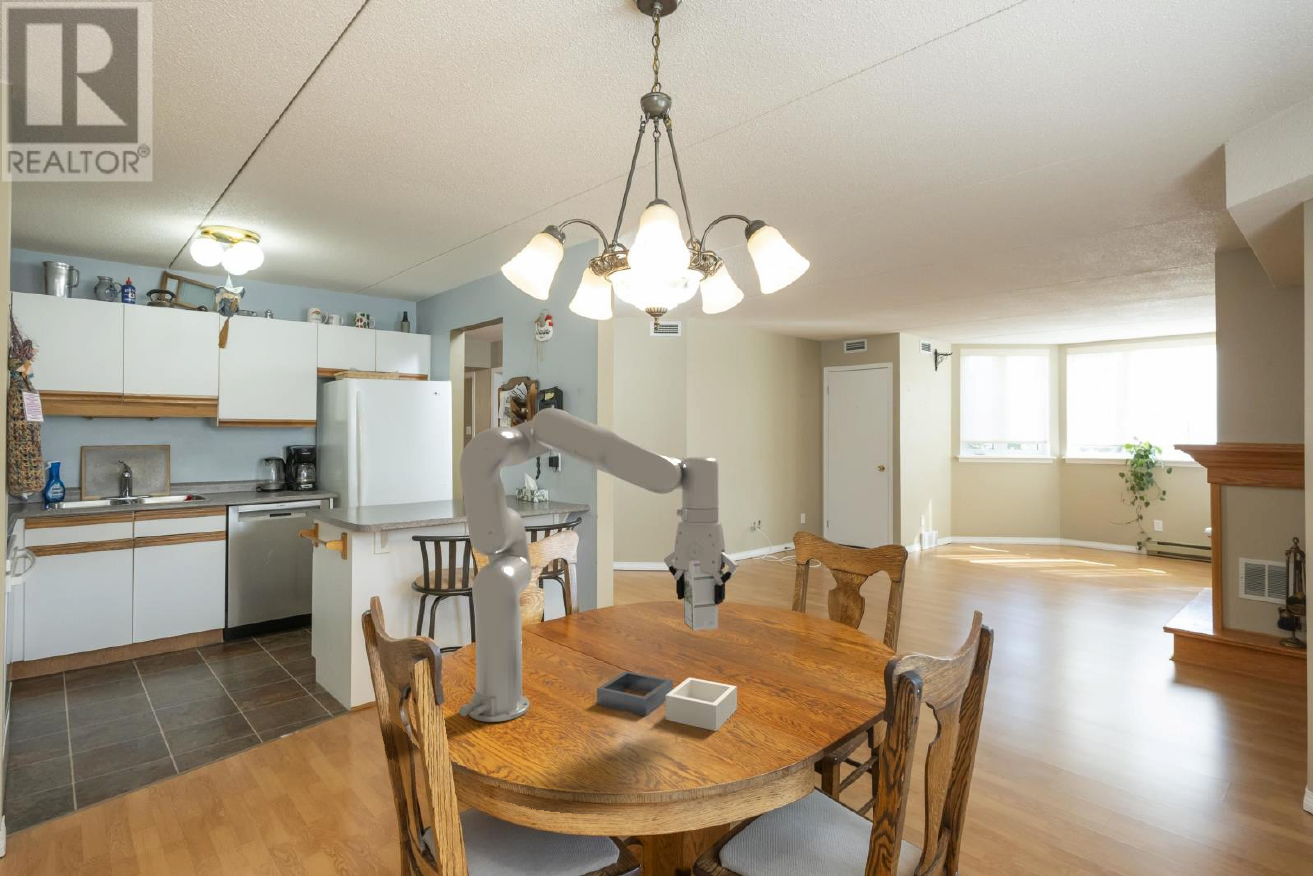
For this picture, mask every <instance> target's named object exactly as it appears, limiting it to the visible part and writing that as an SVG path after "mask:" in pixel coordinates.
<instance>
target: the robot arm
mask: <svg viewBox="0 0 1313 876" xmlns="http://www.w3.org/2000/svg"><path fill="white" fill-rule="evenodd" d="M468 441H469V442H467V444H466V445H465V446H464V448H463V451H462V454H461V455H460V459H459V477H460V482H461V483H460V484H461V489H462V495H463V500H464V501H463V502H464V510H465V516H466V524H467V529H468V536H469V541H470V544H471V546H472V548H473V549H474V550H475V551H476V552H477V553H479V555H483V556H487V559H488V563H487V564H485V565H484V566H483V567H482V568H480V569H479V571H478V572H477V574H476V575H475V577H474V579H473V582H472V588H471V589H472V590H471V591H472V592H471V593H472V602H473V608H474V609H473V610H474V616H475V692H474V693H472V699H471V700H470V701H469V703H466V704H464V705H462V706H460V707H459V709H458V710H459V714H460V716H461V717H465V716H467V715H469V716H470V717H471V719H473V720H476V721H479V722H487V723H498V722H505V721H510V720H514V719H516V718H518V717H521V716H523V715H525V714H526V713H527V712H528V711H529V709H530V700H529V699H528V698H527V697H526V696H525V695H524V694H523V634H522V633H523V632H522V630H523V628H522V626H523V625H522V624H523V623H522V611H521V606H520V595H522V593H524V592H525V591H526V589H527V588H528V587H529V585H530V584H531V580H532V577H533V571H532V563H531V561H532V560H531V555H530V550H529V544H528V543H529V542H528V537H527V532H526V528H525V523H524V521H523V519H522V517H521V515H520V514H519V512H517V511H516V510H514V509H513V508H511V507H508V505H507V504H508V503H507V500H506V492H505V487H504V484H503V481H502V478H501V469H502V468H504V467H512V466H518V465H520V464H523V463H526V462H528V461H531V460H533V459H536V458H540V457H541V456H545V455H546V454H549V453H552V452H555V453H558V454H560V455H564V456H565V457H568V458H571V459H574V460H576V461H579V462H580V463H583V464H585V465H587V466H590V467H592V468H594V469H597V470H598V471H601V472H603V473H606V474H609V475H611V476H612V477H613V476H614V477H615V478H617V479H620V480H622V481H625V482H627V483H629V484H632V485H634V486H637V487H638V488H641V489H644V490H646V491H649V492H651V493H655V494H657V495H658V494H659V495H666V494H669V493H672V492H673V491H675V490H681V492H682V496H681V497H682V499H681V501H682V506H681V509H677V510H676V515H677V516H678V517H681V520H682V521H679V522H678V524H677V529H676V533H675V534H676V535H675V542H674V550H673V552H671V553H670V554H669V555H667V556H666V557H664V559H663V562H664V563H665V565H666V567H667V568H668V571H669V573H671V575H672V576H673V579H674V580H675V581H676V584H675V585H676V587H675V588H676V590H675V592H676V595H677V599H678V600H681V601H682V600H684V571H689V561H690V560H699V562H700V572H702V573H709V574H712V575H713V576H714V578H715V580H716V582H717V584H716V585H715V586H714V603H715V604H717V605H720V604H722V603H723V602H724V600H726V599H725V598H726V583H727V582H728V581H729V580H730V579H731V578H732V577H733V576H734V574H735V572H737V570H738V569H739V567H740V566H739V564H738V563H737V562H736V561H735V560H733V558H731V557H730V556H729V555H728V554H726V546H725V545H726V544H725V536H724V529H723V526H722V523H721V522H719V462H718V460H717V459H716V458H714V457H709V456H707V457H706V456H693V457H692V456H690V457H686V458H685V457H677V456H676V457H675V456H669V455H661V454H659V453H657V452H654V451H651V450H649V449H646V448H643V447H641V446H639V445H637V444H634V443H633V442H630V441H627V439H626V440H625V439H624V438H623V437H621V436H619V435H618V434H617V433H615V431H612V430H610V429H607V428H605V427H603V426H600V425H598V424H595V423H593V422H591V421H588V420H585V419H583V418H581V417H578V416H575V415H574V414H570V413H569V412H568V411H565V410H564V409H559V408H555V407H554V408H553V407H547V408H543V409H541V410H539V411H538V412H537V413H536V414H534V416H533V417H532V419H531V420H528V421H526V422H522V423H520V424H517V425H514V426H511V427H506V426H494V427H490V428H487V429H484V430H483V431H481V432H478V434H476V435H475V436H474V437H472V438H471V439H470V440H468ZM726 566H727V567H728V569H727V571H726V572H724V569H725V567H726Z"/></svg>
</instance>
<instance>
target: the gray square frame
mask: <svg viewBox="0 0 1313 876" xmlns="http://www.w3.org/2000/svg"><path fill="white" fill-rule="evenodd" d="M673 683H674V680H673V679H670V678H663V677H659V676H656V675H655V676H654V675H648V674H644V673H639V672H634V671H629V670H625V671H624V672H622V673H620V674H619V675H616V676H615V677H614V678H612V679H610V680H609V681H607V682H605V683H604V684H602V685H600V686H599V687H597V688H596V706H600V707H603V706H604V708H609V709H612V710H617V711H622V712H626V713H630V714H635V715H638V714H640V716H642V717H647V716H649V715H650V714H652V712H654V711H655V710H656V709H657V708H659V707H660V706H662V705H663V704H664V703H665V702H666V694H668V693H669V692H670V691H672V690H673V689H674V684H673ZM627 689H629V690H633V691H634V690H635V691H639V692H643V691H645V692H644V693H647V692H649V693H647V694H645V696H644V695H638V694H633V693H631V692H630V693H628V692H625V691H626V690H627ZM664 701H665V702H664ZM659 705H660V706H659ZM653 710H654V711H653Z"/></svg>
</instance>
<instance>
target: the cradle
mask: <svg viewBox="0 0 1313 876" xmlns="http://www.w3.org/2000/svg"><path fill="white" fill-rule="evenodd" d="M736 710H737V711H738V686H736V685H731V684H727V683H720V682H715V681H709V680H705V679H701V678H695V677H688V678H686V679H685V680H683V681H682V682H681V683H680V684H679V685H677V686H675V687H673V690H672V691H670V692H669V693H668V694H666V701H665V720H666V721H671V722H674V723H679V724H684V725H687V726H693V727H696V728H700V729H706V730H710V731H713V732H717V731H719V729H720V728H721V727H722V726H723V725H724V724H725V723H726V722H727V721H728V720H729V719H730V718H731V717H732V716H733V715H734V714H735V713H736V712H737V711H736ZM735 711H736V712H735ZM734 712H735V713H734ZM732 714H733V715H732ZM730 716H731V717H730ZM727 719H728V720H727Z"/></svg>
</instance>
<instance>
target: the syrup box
mask: <svg viewBox="0 0 1313 876" xmlns="http://www.w3.org/2000/svg"><path fill="white" fill-rule="evenodd" d="M716 584H717V582H716V580H715V578H714V576H713V575H712V574H709V573H702V572H700V562H699V560H690V561H689V571H684V598H683V614H684V615H683V617H684V619H683V620H684V624H685V625H686V626H687V627H688V628H689V629H691V630H692V631H697V632H698V631H708V630H709V631H710V630H715V629H716V630H717V629H718V628H719V614H718V613H719V610H718V609H719V608H718V607H719V606H718V605H719V604H718V605H717V604H715V603H714V586H715V585H716Z"/></svg>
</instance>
